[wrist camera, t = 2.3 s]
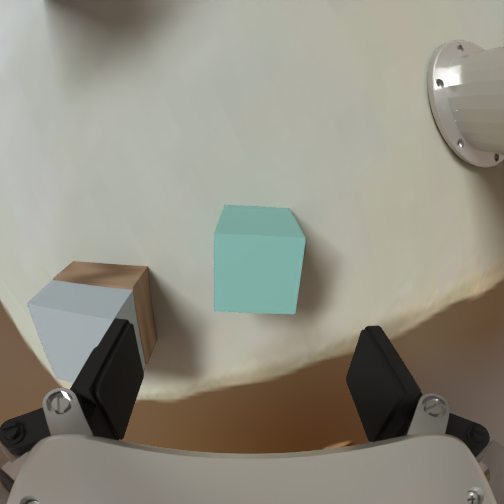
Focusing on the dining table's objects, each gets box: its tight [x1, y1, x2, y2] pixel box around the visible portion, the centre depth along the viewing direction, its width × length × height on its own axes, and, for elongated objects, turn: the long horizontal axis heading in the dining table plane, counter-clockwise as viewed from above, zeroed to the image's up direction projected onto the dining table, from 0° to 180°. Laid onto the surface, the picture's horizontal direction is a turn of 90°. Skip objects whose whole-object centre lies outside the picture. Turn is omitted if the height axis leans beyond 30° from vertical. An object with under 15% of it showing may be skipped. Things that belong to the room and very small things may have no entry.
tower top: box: [27, 280, 146, 383], centre depth 20 cm, size 8×8×4 cm
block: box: [214, 205, 306, 314], centre depth 20 cm, size 5×5×7 cm
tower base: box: [53, 261, 157, 364], centre depth 24 cm, size 8×8×4 cm
